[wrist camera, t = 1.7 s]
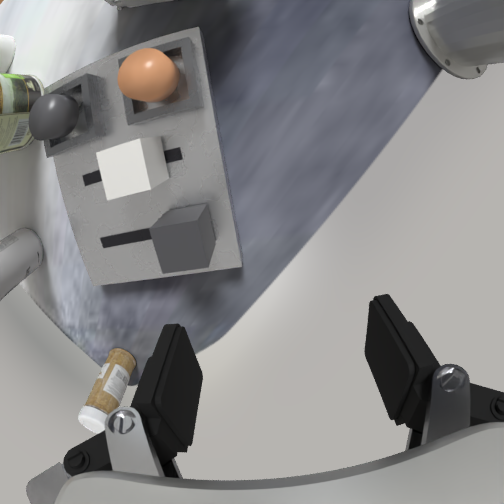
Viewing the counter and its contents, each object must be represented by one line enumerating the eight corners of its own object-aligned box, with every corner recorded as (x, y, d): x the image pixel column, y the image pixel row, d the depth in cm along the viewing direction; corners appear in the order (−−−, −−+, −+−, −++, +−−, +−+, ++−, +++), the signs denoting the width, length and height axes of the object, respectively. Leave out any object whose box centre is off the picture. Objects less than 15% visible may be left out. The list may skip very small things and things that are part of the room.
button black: (76, 88, 19) (58, 86, 16) (82, 128, 20) (63, 130, 18) (45, 105, 19) (26, 105, 16) (50, 143, 21) (32, 146, 18)
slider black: (207, 203, 26) (197, 220, 21) (215, 243, 27) (208, 267, 23) (166, 211, 26) (149, 228, 21) (176, 249, 27) (162, 273, 23)
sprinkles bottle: (105, 346, 37) (70, 413, 25) (131, 347, 37) (99, 420, 25) (116, 367, 39) (88, 433, 27) (141, 368, 39) (115, 439, 26)
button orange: (176, 50, 18) (165, 41, 15) (183, 95, 20) (173, 90, 17) (129, 65, 18) (114, 58, 16) (136, 108, 20) (121, 106, 17)
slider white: (160, 136, 23) (140, 138, 18) (169, 178, 25) (151, 189, 20) (122, 147, 23) (96, 152, 19) (131, 187, 25) (107, 200, 20)
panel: (203, 34, 21) (194, 19, 17) (242, 256, 31) (241, 276, 27) (56, 90, 22) (32, 88, 18) (102, 276, 32) (85, 294, 28)
